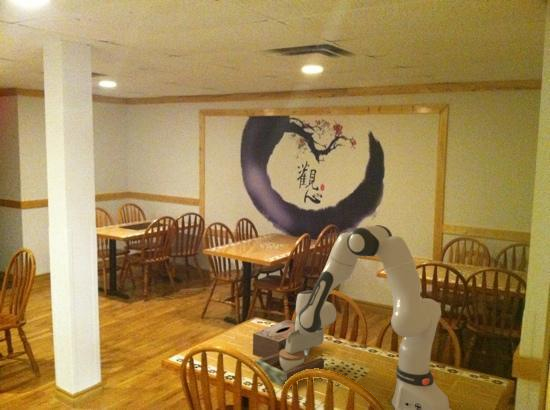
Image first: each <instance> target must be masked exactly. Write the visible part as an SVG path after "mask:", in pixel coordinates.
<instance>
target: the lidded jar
mask: <svg viewBox="0 0 550 410" xmlns="http://www.w3.org/2000/svg"><path fill="white" fill-rule="evenodd" d="M304 352H305V351H304ZM304 352H303V351H300V352H297V353H294V354H289V353H287V352H286V350H285V349H283V350H281V351H280V352H279V356H280V365H281V366H280V367H281V368H282V371H283V372H284V371H287V370H289V369H292V368H295V367H297V366H300V365H302V364H305V359H304V357H305V353H304Z"/></svg>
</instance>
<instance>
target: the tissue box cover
mask: <svg viewBox="0 0 550 410" xmlns="http://www.w3.org/2000/svg"><path fill="white" fill-rule="evenodd" d="M291 331H295V321H293V320H290V319H285V320H282V321H280V322H278V323H276V324H273V325H270V326H268V327H266V328H263V329H261V330H259V331H256V332H254V333H253V334H252V355H253V356H256V357H260V358H261V359H262V358H265V357H268V356H270V355H273V354H276V353H279V352H280V351H281V350H283V349H285V347H286V340H287V336H288V334H289V333H290V332H291Z"/></svg>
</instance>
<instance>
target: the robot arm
mask: <svg viewBox="0 0 550 410" xmlns="http://www.w3.org/2000/svg"><path fill="white" fill-rule="evenodd" d="M375 256H377V257H378V258H380V260H381V262H382V264H383V269H384V271H385V273H386V274H385V275H386V278H387V281H388V283H389V288H390V291H391V296H392V297H391V299H392V314H391V315H392V316H391V320H390V322H391V323H390V325H391V328H392V330H393V332H394V333H396V334H397V335H398V336H400V337H402V340H401V341H400V344H399V349H398V365H397V366H396V385H395V389H394V394H393V395H392V396H393V397H392V399H391V404H392V407H394V410H453V409H452V408H450V403H449V398H448V397H447V395H446V394H445V393H444V392H443V391H442V390H441V389H440V387H439V386H438V385H437V384H436V383H435V382H434V381H435V380H434V379H436V378H437V377H436V376H437V374H432V371H431V368H430V367H431V354H432V348H433V343H434V340H435V335H436V332H437V327H438V323H439V321H440V319H441V317H442V310H441V306H440V305H439V303H438V302H437V301H436V300H434V299H432V298H427V297H426V298H425V297H424V298H421V285H422V282H421V281H422V280H421V278H420V274H419V272H418V269H417V266H416V264H415V260H414V257H413V255H412V252H411V250H410V248H409V247H408V245H407V243H406V241H405V240H404V239H403V238H402V237H401V236H396V235H392V232H391V230H390V229H389V228H388V227H386V226H383V225H379V224H378V225H377V224H376V225H365V226H362V227H361V226H360V227H358V228H355V229H353V230H352V231H351V232H349V231H348V232H342V233H340V234H339V235H338V237H337V239H336V240H335V242H334V244H333V246H332V248H331V251H330V253H329V256H328V259H327V261H326V264H325V266H324V268H323V270H322V272H321V274H319V276H318V277H319V278H318V279H317V281H316V283H315V285H314V287H313V289H312V290H311V289H309V290H303V291H300V292H299V293H298V294H297V296H296V301H295V313H296V317H295V321H294V322H295V331H291V332H290V333H289V334H288V336H287V340H286V347H285V350H286V352H287V353H289V354H294V353H297V352H300V351H303V352H304V353H305V357H304V360H305V359H308V357H309V354H310V353H309V352H310V351H311V348H315V347H318V346H321V345H322V344H323V342H324V339H325V338H324V337H325V336H324V333H325V332H324V328H325V327H327V326H328V325H331V324H333V323H334V322H335V321H336V319H337V317H338V316H337V315H338V311H337V308H336V306H335V305H334V304H333V303H332V302H330V301H327V298H328V296H329V295H330V293H331V292H332V291H333V290H334V289H335V288H336V287H338V286H339V285H340V284H342V283H344V282H345V281H347V280H348V279H350V277H351V276H352V274H353V272H354V270H355V269H356V268H355V267H356V265H357V262H358V260H359V257H375Z"/></svg>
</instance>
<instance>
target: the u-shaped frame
mask: <svg viewBox="0 0 550 410" xmlns="http://www.w3.org/2000/svg"><path fill="white" fill-rule="evenodd" d="M255 363H257V364H258V365H259V366H260V367H261V368H262V369H263V370H264V372H265V373H266V374H267V375H268V377H269V378H270V380H271V382H272V383H275V384H276V385H278V386H280V387H282V388H283V385H284V384H285V382H286V381H287V380H288V379H289V378H290V377H291V376H293V375H294V374H296V373H298V372H301V371H303V370H306V369H314V368H319V369H323V368H324V369H325V358H323V357H318V358H317V359H313V360H311V361H308V362H306V363H305V362H304V364H302V365H300V366H297V367H295V368H292V369H289V370H287V371H284V370H281V369H278V367H281V365H280V356H279V353H276V354H273V355H270V356H268V357H265V358H262V357H261V358H258V359H256V360H255V361H254V364H255ZM270 380H269V381H270Z"/></svg>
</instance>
